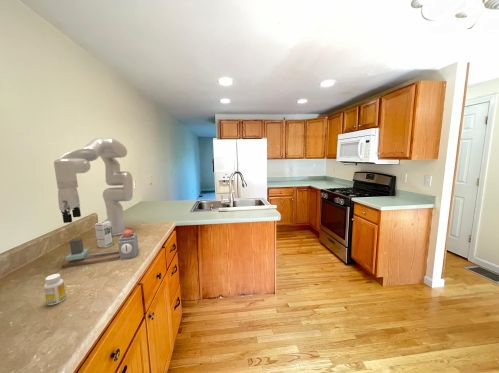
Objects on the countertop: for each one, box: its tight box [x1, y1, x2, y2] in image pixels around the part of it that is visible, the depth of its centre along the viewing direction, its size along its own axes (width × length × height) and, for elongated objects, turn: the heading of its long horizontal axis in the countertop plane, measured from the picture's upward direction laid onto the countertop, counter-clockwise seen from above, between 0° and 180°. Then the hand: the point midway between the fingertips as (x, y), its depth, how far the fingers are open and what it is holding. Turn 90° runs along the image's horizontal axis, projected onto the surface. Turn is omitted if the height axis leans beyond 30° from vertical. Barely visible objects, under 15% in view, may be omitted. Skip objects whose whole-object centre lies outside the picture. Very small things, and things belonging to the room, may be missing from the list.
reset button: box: [122, 229, 133, 237], centre depth 114 cm, size 4×4×2 cm
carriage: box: [64, 237, 90, 262], centre depth 108 cm, size 8×7×9 cm
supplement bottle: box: [43, 273, 67, 306], centre depth 79 cm, size 5×5×10 cm
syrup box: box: [94, 220, 114, 248], centre depth 127 cm, size 6×6×14 cm
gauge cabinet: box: [118, 232, 139, 260], centre depth 115 cm, size 11×7×10 cm, turn 18°
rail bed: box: [61, 249, 121, 269], centre depth 111 cm, size 10×24×3 cm, turn 109°
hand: (72, 219), depth 105 cm, fingers open, 9 cm apart
